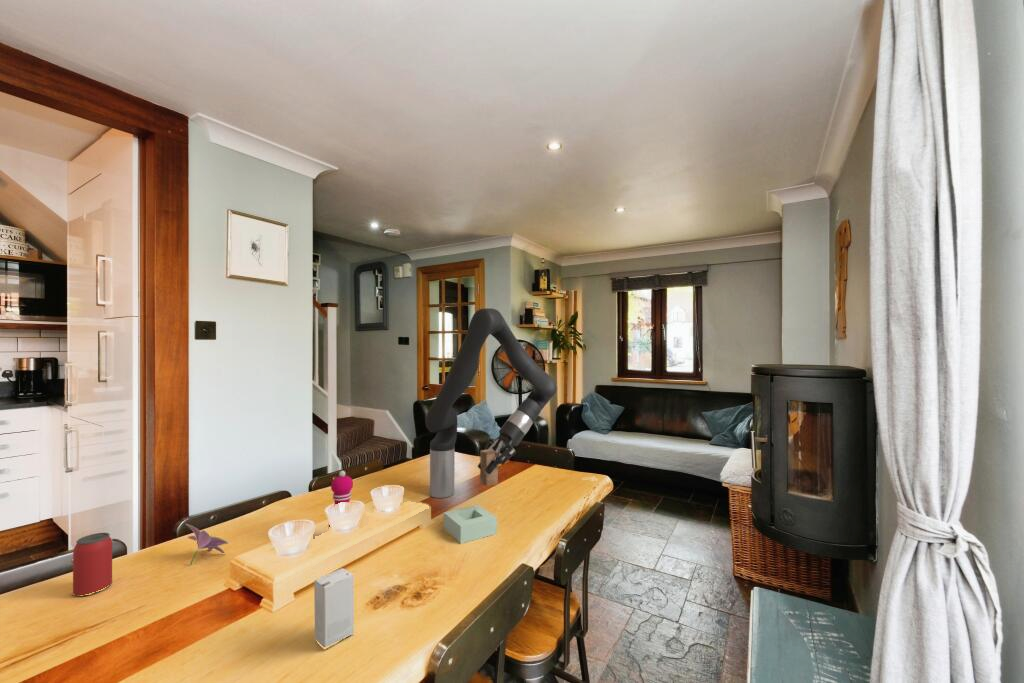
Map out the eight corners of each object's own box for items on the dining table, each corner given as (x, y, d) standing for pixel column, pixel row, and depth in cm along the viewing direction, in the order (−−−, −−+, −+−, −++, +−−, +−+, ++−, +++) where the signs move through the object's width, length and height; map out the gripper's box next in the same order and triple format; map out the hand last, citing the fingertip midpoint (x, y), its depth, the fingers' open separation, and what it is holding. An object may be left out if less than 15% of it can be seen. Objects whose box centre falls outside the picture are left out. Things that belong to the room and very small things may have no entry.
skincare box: (343, 626, 87) (343, 565, 87) (354, 635, 84) (355, 573, 84) (312, 642, 82) (312, 578, 83) (324, 653, 80) (324, 587, 80)
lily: (227, 568, 112) (241, 528, 117) (174, 564, 105) (191, 522, 109) (213, 568, 119) (227, 530, 124) (163, 564, 112) (179, 524, 117)
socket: (443, 528, 133) (443, 512, 133) (478, 520, 140) (478, 504, 140) (460, 543, 123) (460, 526, 123) (496, 533, 130) (497, 517, 130)
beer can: (118, 584, 102) (119, 533, 102) (83, 600, 96) (84, 546, 96) (101, 579, 104) (101, 529, 104) (65, 594, 98) (66, 541, 98)
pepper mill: (359, 534, 129) (359, 467, 129) (347, 545, 122) (348, 474, 122) (336, 533, 130) (336, 466, 130) (323, 544, 123) (323, 474, 123)
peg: (480, 482, 136) (480, 450, 136) (491, 480, 138) (491, 448, 138) (486, 485, 133) (486, 453, 133) (497, 483, 135) (497, 451, 135)
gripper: (497, 416, 145) (465, 458, 139) (521, 423, 133) (487, 469, 127) (510, 430, 148) (479, 471, 142) (535, 438, 136) (502, 484, 130)
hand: (483, 470), depth 134 cm, fingers closed on peg, 4 cm apart
